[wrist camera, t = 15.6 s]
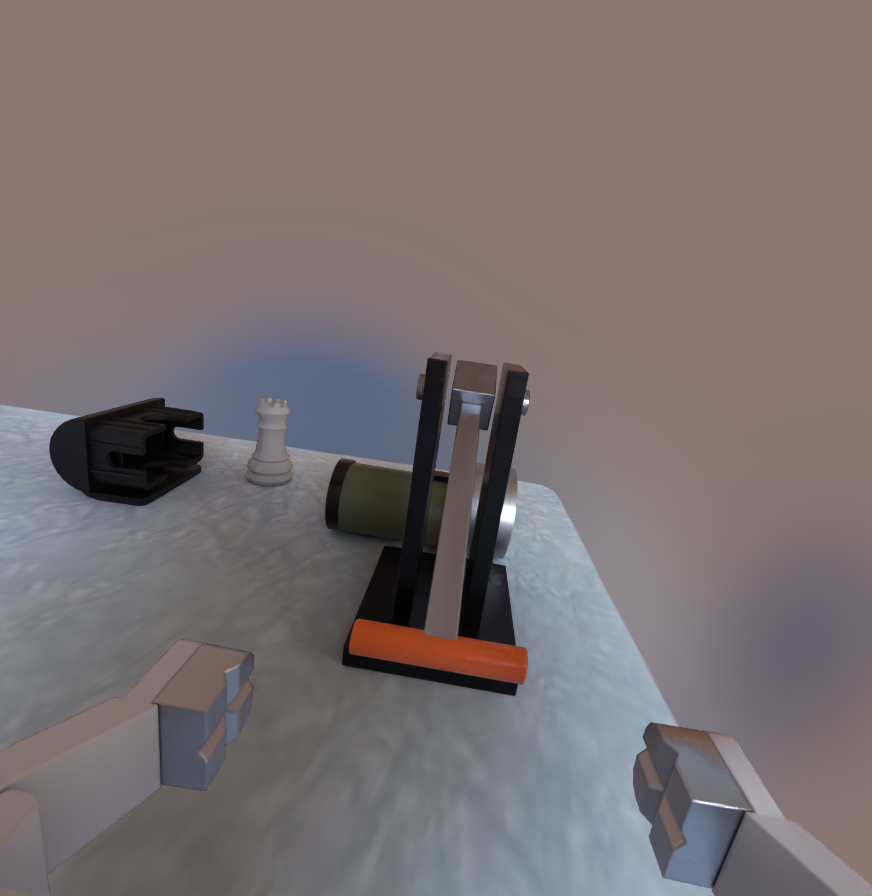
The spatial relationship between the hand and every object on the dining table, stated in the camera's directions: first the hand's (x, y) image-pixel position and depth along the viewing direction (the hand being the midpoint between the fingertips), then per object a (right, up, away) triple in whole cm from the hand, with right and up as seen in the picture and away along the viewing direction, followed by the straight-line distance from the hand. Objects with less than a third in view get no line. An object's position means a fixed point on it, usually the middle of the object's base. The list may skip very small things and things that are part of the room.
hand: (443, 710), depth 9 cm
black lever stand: (0, -5, +19) cm, 20 cm away
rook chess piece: (-17, +2, +37) cm, 40 cm away
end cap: (-27, +2, +32) cm, 42 cm away
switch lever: (+1, +3, +12) cm, 12 cm away
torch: (-2, -2, +29) cm, 29 cm away
